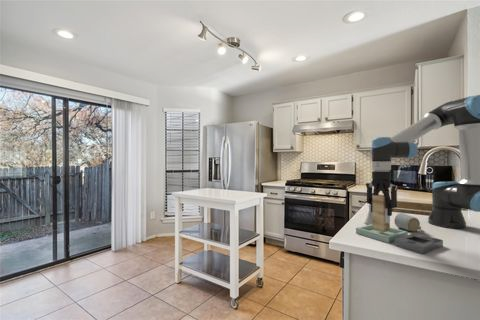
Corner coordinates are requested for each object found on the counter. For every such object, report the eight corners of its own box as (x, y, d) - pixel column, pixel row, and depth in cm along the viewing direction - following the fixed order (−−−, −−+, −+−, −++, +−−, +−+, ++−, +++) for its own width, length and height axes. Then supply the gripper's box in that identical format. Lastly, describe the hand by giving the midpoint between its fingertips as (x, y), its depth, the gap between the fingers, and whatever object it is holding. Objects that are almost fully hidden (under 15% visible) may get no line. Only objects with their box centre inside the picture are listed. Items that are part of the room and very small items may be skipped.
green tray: (374, 228, 117) (374, 223, 117) (407, 237, 104) (407, 231, 104) (355, 233, 110) (355, 227, 110) (388, 243, 97) (388, 237, 97)
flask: (377, 222, 128) (377, 204, 128) (381, 226, 121) (381, 207, 121) (362, 221, 130) (362, 204, 130) (365, 225, 123) (366, 206, 123)
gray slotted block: (414, 238, 102) (414, 232, 102) (442, 246, 93) (442, 239, 93) (394, 245, 94) (394, 238, 94) (423, 254, 86) (423, 247, 86)
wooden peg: (378, 228, 110) (378, 194, 110) (389, 230, 106) (389, 196, 106) (372, 229, 108) (372, 195, 108) (383, 232, 104) (383, 196, 103)
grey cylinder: (409, 233, 110) (409, 216, 110) (393, 227, 118) (394, 212, 118) (426, 231, 113) (426, 215, 113) (410, 226, 121) (410, 212, 121)
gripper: (357, 170, 113) (357, 217, 113) (397, 172, 97) (397, 227, 97) (367, 169, 117) (367, 215, 117) (407, 171, 101) (407, 224, 101)
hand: (381, 220), depth 107 cm, fingers closed on wooden peg, 5 cm apart
